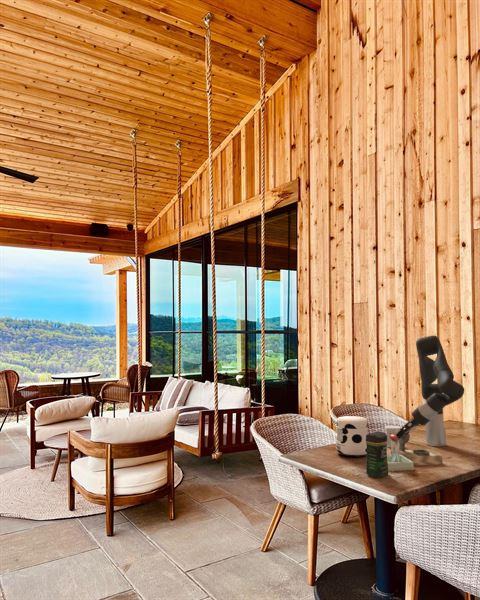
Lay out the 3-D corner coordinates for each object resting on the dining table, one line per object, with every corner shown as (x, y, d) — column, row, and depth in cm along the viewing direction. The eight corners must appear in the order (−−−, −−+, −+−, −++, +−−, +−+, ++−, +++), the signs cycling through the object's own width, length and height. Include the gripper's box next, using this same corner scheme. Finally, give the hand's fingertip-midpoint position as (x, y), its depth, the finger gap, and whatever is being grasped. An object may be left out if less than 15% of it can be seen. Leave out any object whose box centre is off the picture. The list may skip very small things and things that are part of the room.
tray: (401, 462, 219) (401, 455, 219) (413, 469, 207) (413, 462, 207) (377, 463, 218) (377, 456, 218) (388, 470, 206) (387, 463, 206)
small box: (399, 445, 251) (399, 425, 252) (402, 447, 246) (401, 428, 246) (385, 445, 252) (384, 425, 253) (387, 447, 246) (386, 427, 247)
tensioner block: (429, 457, 227) (428, 427, 228) (442, 464, 215) (441, 432, 216) (394, 458, 226) (393, 428, 226) (406, 465, 214) (404, 434, 215)
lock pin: (398, 463, 215) (397, 434, 216) (402, 466, 210) (402, 436, 211) (388, 463, 215) (387, 434, 216) (392, 466, 210) (392, 436, 211)
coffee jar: (379, 479, 194) (378, 435, 195) (363, 475, 200) (362, 432, 201) (391, 474, 201) (390, 431, 202) (375, 470, 207) (374, 429, 208)
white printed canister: (375, 452, 237) (374, 417, 238) (364, 460, 222) (363, 423, 223) (343, 448, 246) (342, 414, 247) (330, 456, 232) (329, 420, 233)
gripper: (424, 404, 212) (400, 425, 219) (413, 408, 201) (389, 431, 208) (436, 416, 209) (412, 438, 215) (426, 422, 198) (401, 444, 204)
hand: (400, 435), depth 212 cm, fingers open, 8 cm apart
